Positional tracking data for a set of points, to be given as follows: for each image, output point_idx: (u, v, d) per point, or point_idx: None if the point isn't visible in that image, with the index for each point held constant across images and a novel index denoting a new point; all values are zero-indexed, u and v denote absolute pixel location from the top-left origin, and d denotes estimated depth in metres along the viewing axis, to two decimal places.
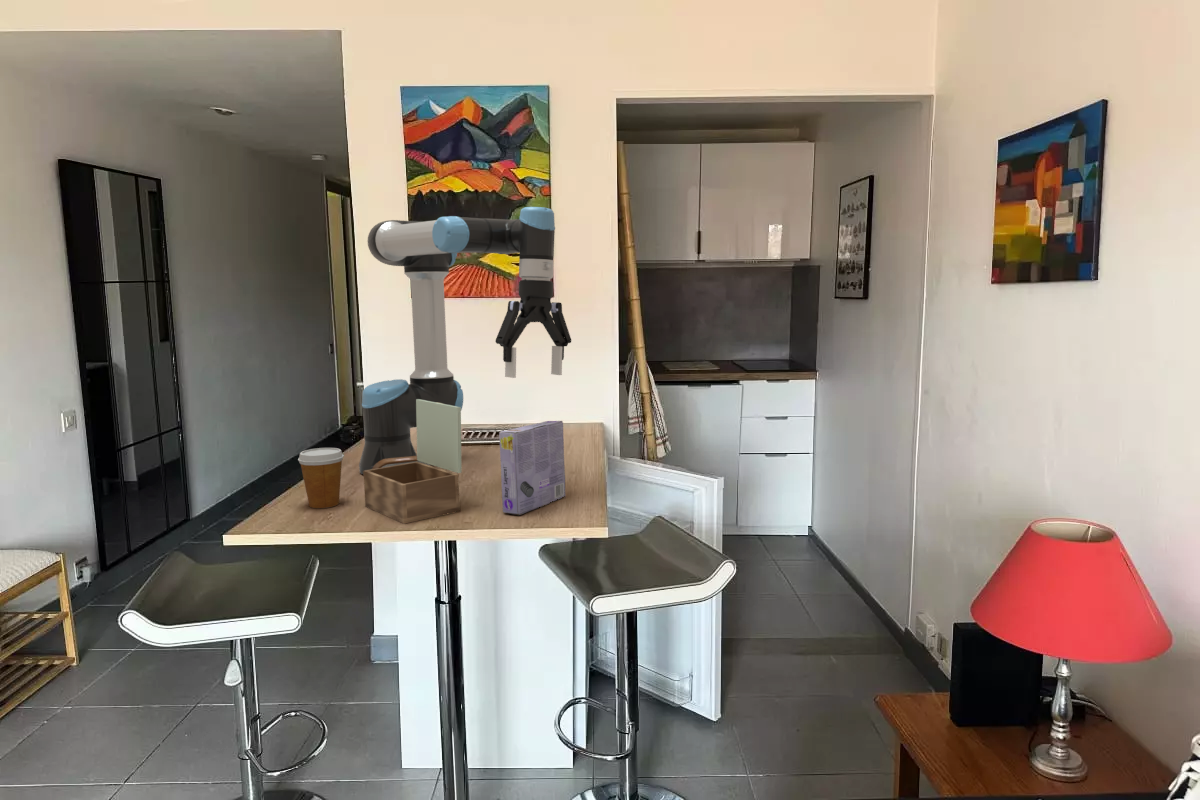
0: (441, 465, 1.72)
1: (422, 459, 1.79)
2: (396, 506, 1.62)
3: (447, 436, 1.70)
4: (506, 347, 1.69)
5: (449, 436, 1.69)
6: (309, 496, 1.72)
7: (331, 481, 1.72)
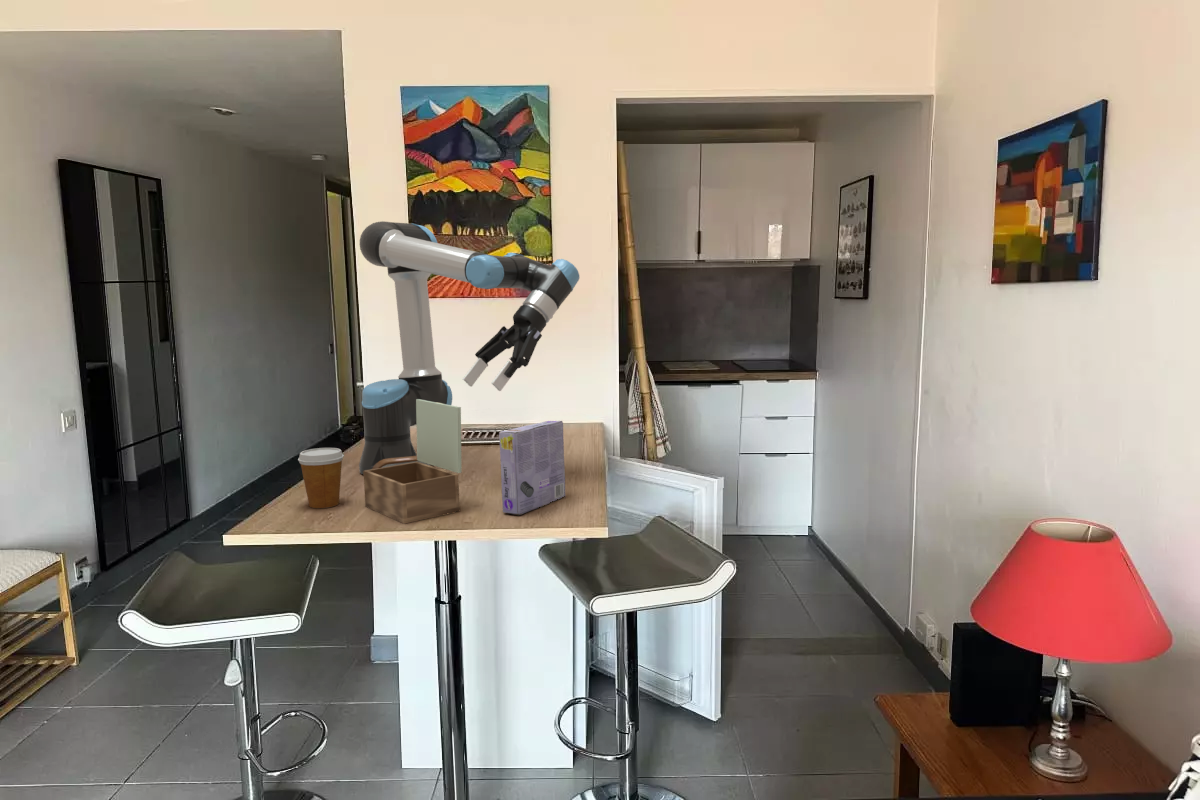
0: (441, 465, 1.72)
1: (422, 459, 1.79)
2: (396, 506, 1.62)
3: (447, 436, 1.70)
4: (517, 366, 1.76)
5: (449, 436, 1.69)
6: (309, 496, 1.72)
7: (331, 481, 1.72)
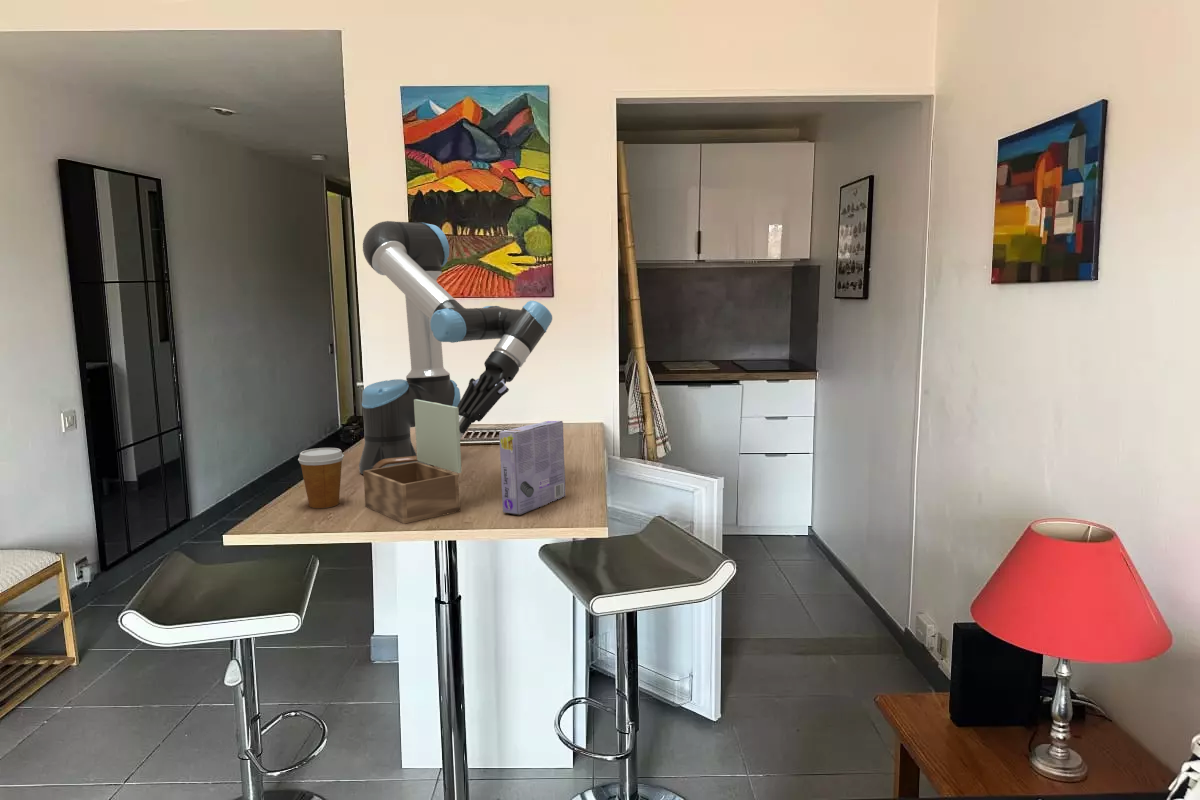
0: (441, 465, 1.72)
1: (422, 459, 1.79)
2: (396, 506, 1.62)
3: (445, 436, 1.69)
4: (471, 421, 1.74)
5: (448, 436, 1.69)
6: (309, 496, 1.72)
7: (331, 481, 1.72)
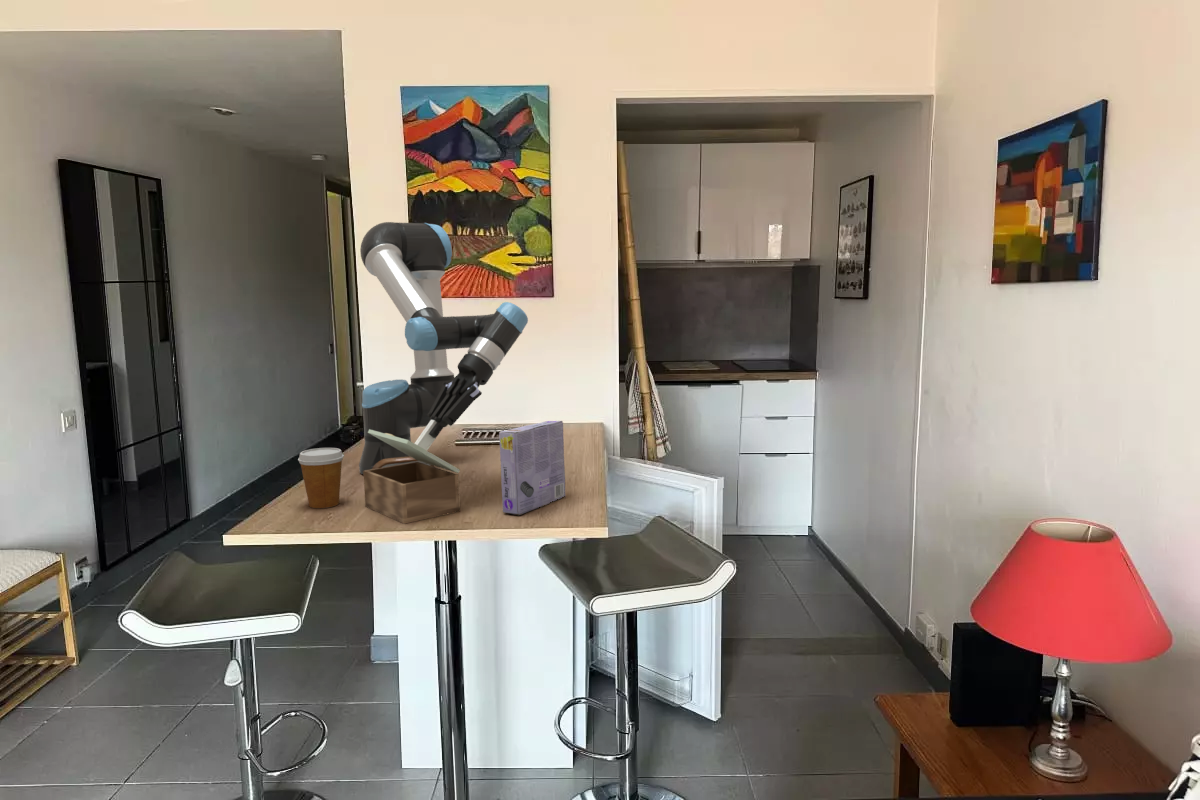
0: (439, 466, 1.72)
1: (420, 460, 1.78)
2: (396, 506, 1.62)
3: (421, 455, 1.66)
4: (443, 425, 1.70)
5: (423, 455, 1.65)
6: (309, 496, 1.72)
7: (331, 481, 1.72)
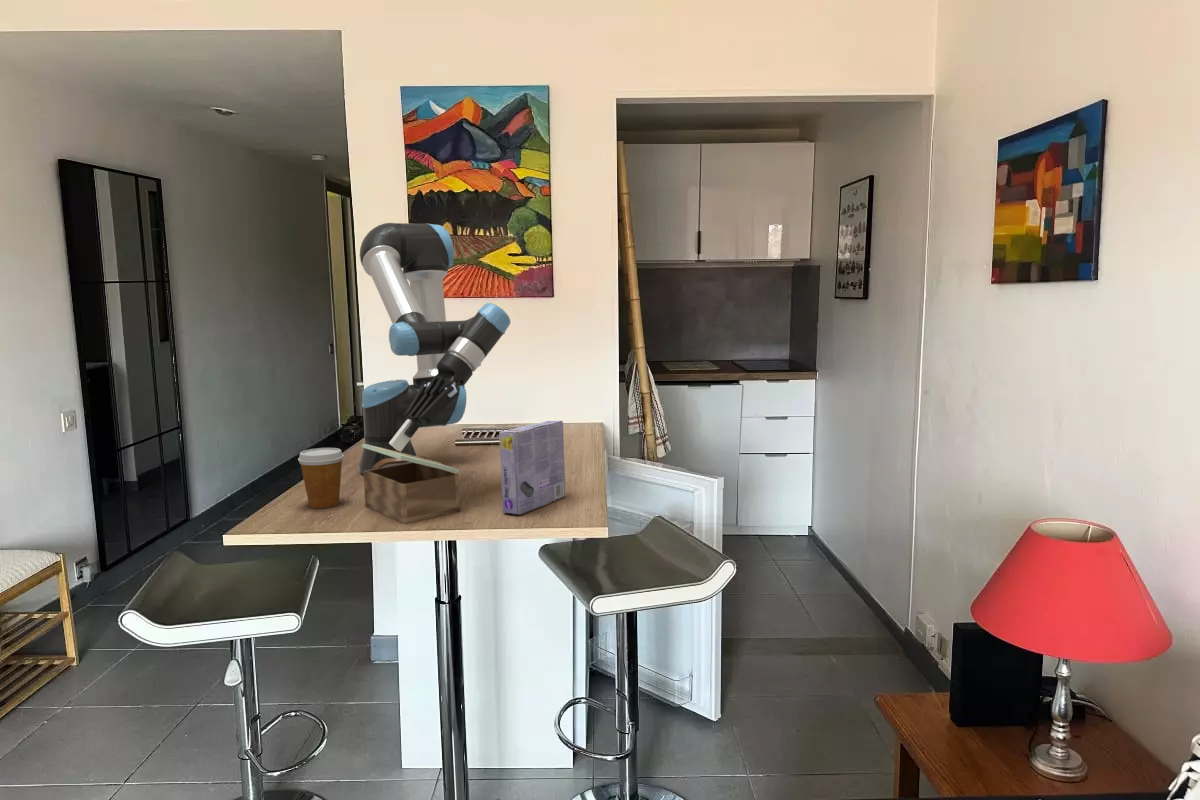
0: None
1: None
2: (396, 506, 1.62)
3: None
4: (419, 425, 1.68)
5: None
6: (309, 496, 1.72)
7: (331, 481, 1.72)
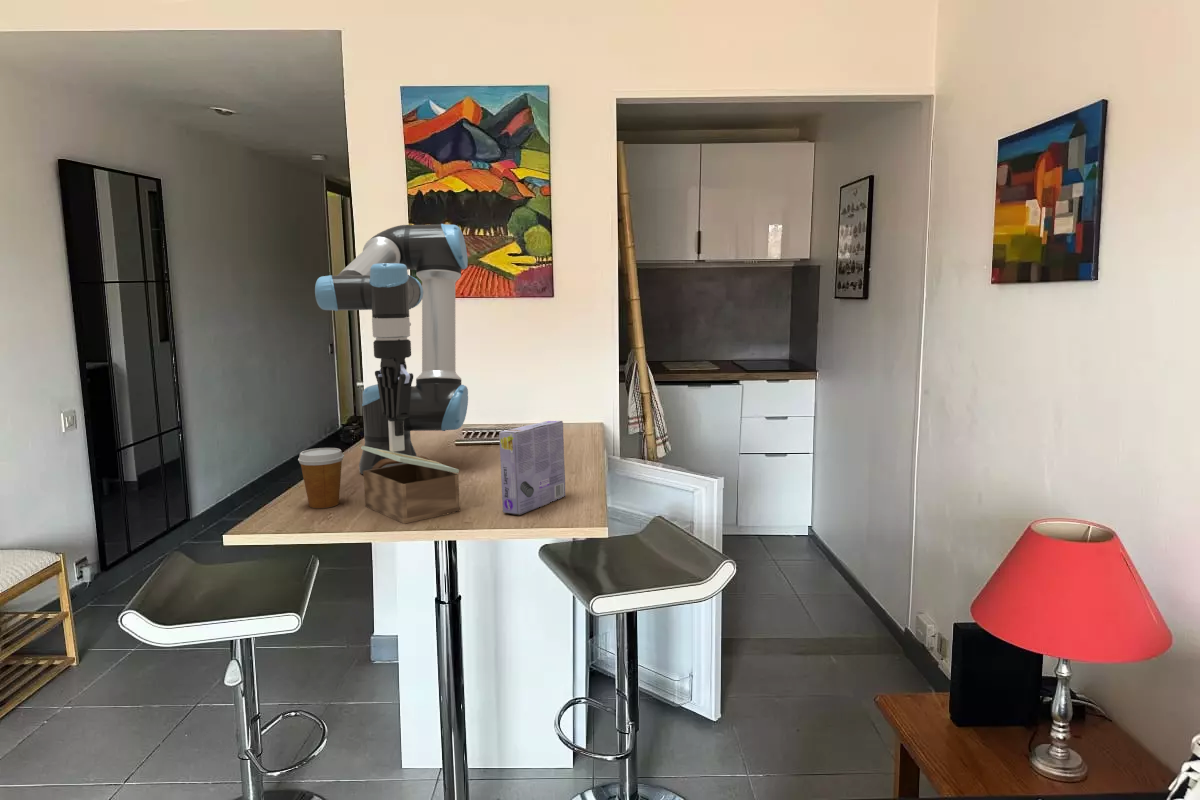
0: None
1: None
2: (396, 506, 1.62)
3: None
4: (402, 420, 1.65)
5: None
6: (309, 496, 1.72)
7: (331, 481, 1.72)
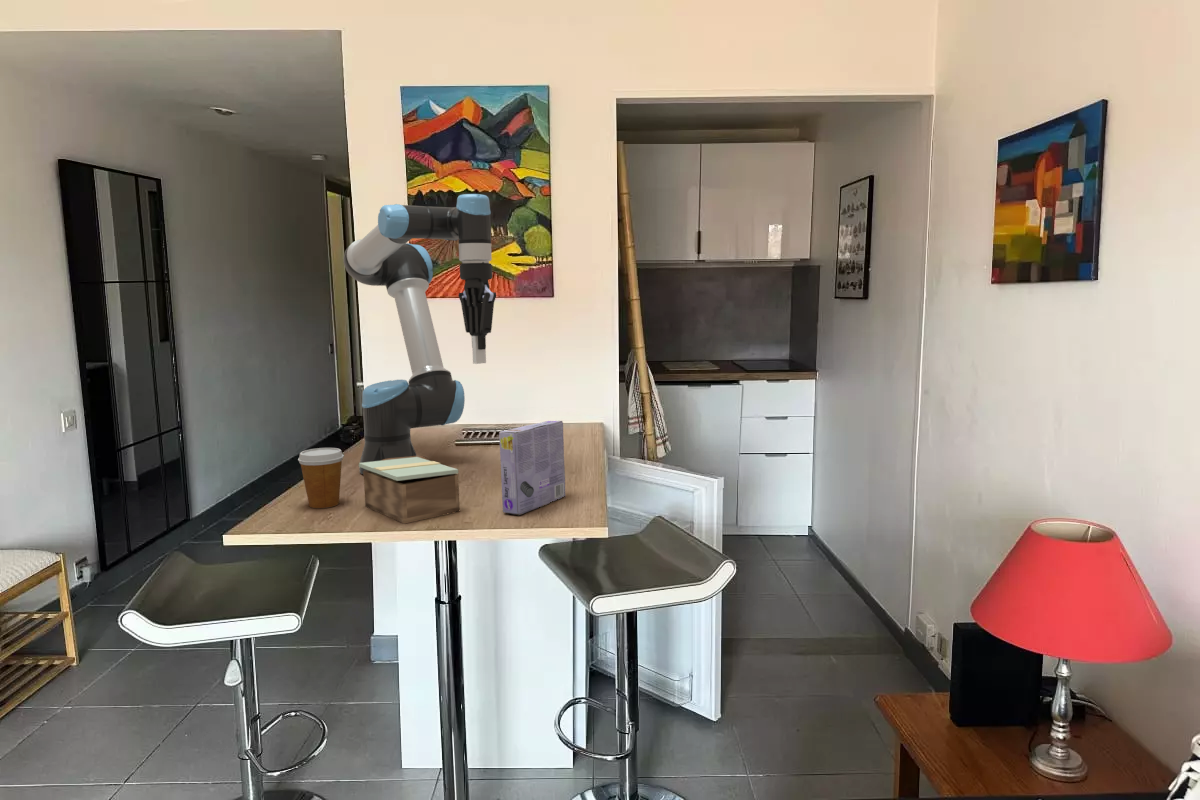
0: None
1: None
2: (396, 506, 1.62)
3: None
4: (484, 336, 1.86)
5: None
6: (309, 496, 1.72)
7: (331, 481, 1.72)
